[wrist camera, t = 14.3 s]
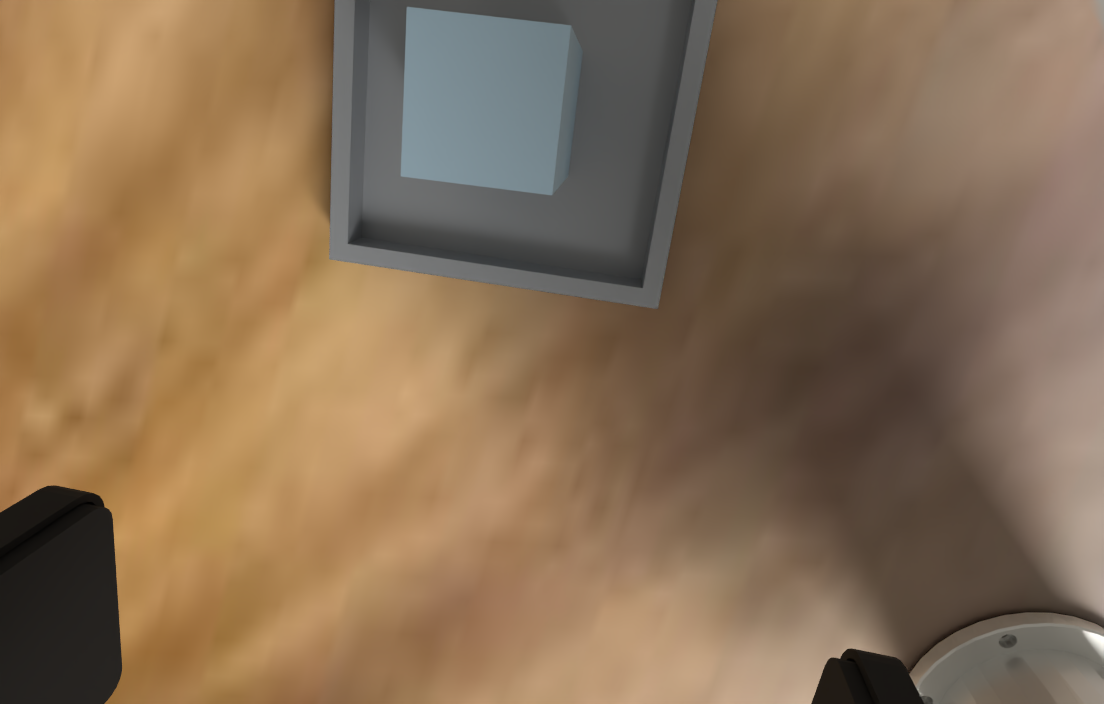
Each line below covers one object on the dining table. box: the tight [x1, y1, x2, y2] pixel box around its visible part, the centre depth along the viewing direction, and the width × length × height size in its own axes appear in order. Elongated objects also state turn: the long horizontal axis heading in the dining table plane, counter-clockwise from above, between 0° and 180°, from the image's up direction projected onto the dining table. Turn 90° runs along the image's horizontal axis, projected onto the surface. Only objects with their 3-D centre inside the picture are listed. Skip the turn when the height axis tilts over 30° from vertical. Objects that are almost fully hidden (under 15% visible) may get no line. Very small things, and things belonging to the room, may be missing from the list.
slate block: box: [401, 7, 583, 195], centre depth 25 cm, size 5×5×8 cm
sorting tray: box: [329, 0, 717, 309], centre depth 28 cm, size 15×15×2 cm
